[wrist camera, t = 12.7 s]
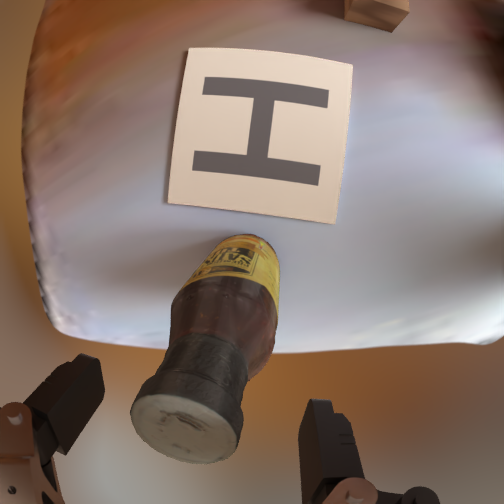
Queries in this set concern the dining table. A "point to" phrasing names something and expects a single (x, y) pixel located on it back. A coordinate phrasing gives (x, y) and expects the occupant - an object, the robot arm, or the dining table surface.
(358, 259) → the dining table surface
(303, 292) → the dining table surface
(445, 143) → the dining table surface
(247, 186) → the letter card
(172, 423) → the sauce bottle
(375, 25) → the walnut block
